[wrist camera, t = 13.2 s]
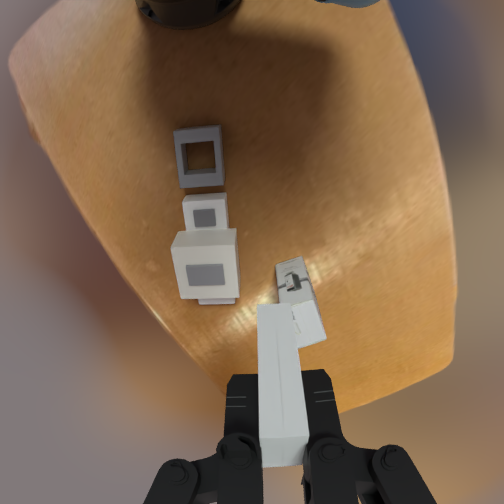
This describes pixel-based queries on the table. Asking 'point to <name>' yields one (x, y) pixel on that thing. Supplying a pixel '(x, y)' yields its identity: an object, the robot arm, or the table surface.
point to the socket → (207, 222)
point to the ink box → (300, 301)
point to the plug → (207, 263)
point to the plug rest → (199, 175)
